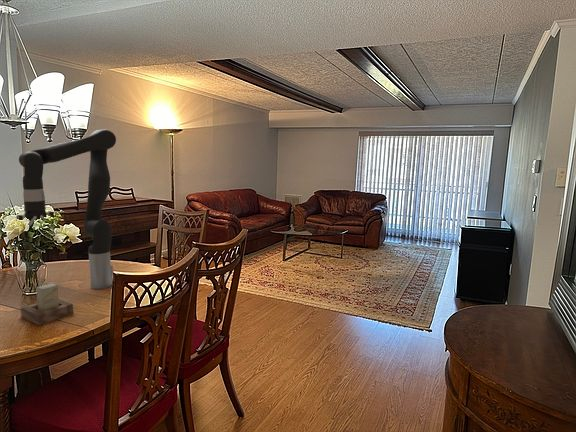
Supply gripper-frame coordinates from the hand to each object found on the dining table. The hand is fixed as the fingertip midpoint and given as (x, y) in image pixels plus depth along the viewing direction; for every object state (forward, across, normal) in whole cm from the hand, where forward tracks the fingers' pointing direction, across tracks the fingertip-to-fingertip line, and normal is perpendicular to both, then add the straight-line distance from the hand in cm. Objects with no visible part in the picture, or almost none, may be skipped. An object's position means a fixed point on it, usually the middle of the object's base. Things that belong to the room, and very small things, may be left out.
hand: (37, 237), depth 164 cm
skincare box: (+28, +8, +19) cm, 35 cm away
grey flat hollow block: (+28, +8, +19) cm, 35 cm away
